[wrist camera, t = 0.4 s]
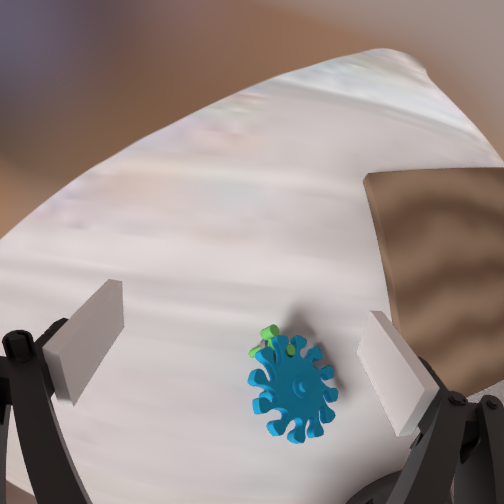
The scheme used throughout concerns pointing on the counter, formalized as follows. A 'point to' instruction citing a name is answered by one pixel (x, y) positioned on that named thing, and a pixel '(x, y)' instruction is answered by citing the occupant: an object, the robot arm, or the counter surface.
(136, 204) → the counter surface
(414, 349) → the dowel plate
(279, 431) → the gear
